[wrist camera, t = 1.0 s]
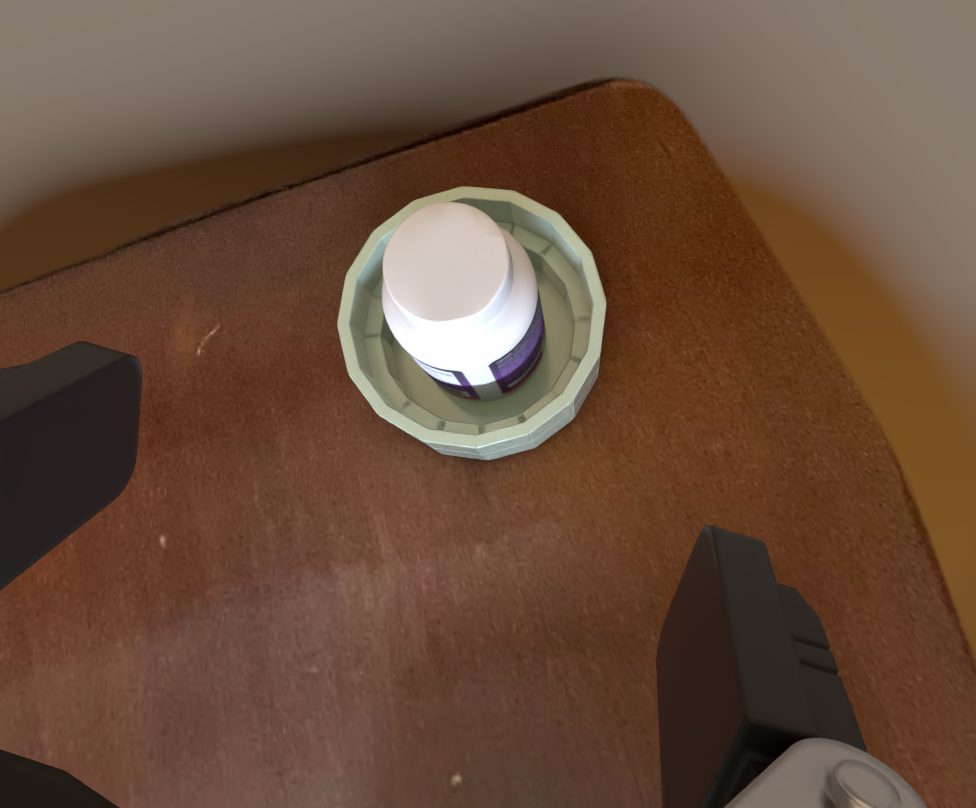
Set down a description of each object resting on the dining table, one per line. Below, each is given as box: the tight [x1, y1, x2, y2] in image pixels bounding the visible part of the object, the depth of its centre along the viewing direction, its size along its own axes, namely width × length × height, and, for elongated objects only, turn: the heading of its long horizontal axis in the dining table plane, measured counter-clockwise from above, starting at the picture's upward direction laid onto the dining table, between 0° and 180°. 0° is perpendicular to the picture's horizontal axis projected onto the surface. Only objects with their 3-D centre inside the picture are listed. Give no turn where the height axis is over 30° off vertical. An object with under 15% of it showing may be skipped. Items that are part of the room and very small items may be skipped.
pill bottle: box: [382, 202, 546, 401], centre depth 29 cm, size 5×5×10 cm
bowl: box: [337, 186, 607, 460], centre depth 32 cm, size 10×10×4 cm
